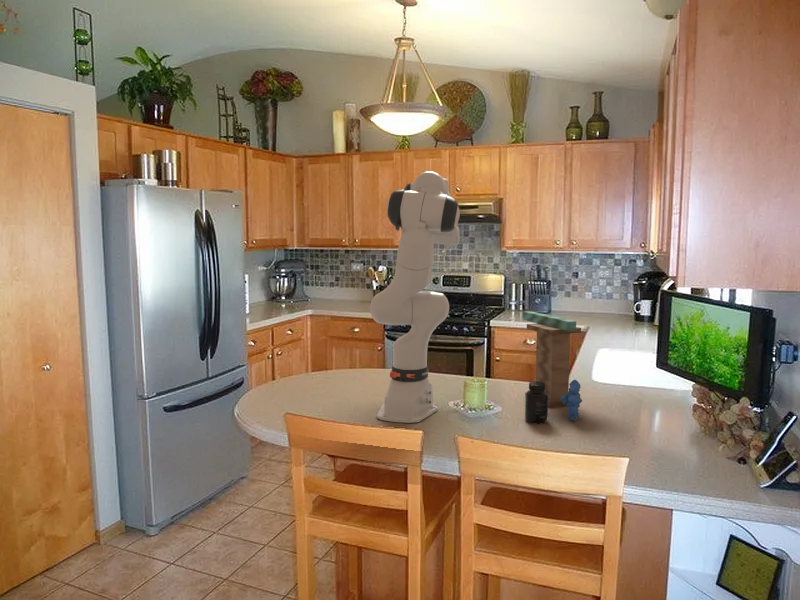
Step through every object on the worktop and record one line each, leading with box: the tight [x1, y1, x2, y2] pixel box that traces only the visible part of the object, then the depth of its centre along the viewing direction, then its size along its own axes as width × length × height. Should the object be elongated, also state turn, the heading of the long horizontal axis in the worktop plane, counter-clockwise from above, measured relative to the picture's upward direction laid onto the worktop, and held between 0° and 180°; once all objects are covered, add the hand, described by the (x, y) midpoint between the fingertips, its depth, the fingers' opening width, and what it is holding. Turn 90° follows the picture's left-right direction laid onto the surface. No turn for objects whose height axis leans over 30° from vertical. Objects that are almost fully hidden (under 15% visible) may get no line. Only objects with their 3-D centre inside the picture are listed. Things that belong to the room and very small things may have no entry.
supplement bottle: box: [524, 380, 549, 425], centre depth 182 cm, size 7×7×12 cm
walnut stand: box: [524, 323, 582, 409], centre depth 203 cm, size 14×12×26 cm
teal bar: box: [522, 310, 577, 331], centre depth 204 cm, size 26×3×3 cm, turn 22°
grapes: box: [560, 379, 583, 421], centre depth 185 cm, size 12×7×12 cm, turn 160°
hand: (431, 253), depth 232 cm, fingers open, 8 cm apart
